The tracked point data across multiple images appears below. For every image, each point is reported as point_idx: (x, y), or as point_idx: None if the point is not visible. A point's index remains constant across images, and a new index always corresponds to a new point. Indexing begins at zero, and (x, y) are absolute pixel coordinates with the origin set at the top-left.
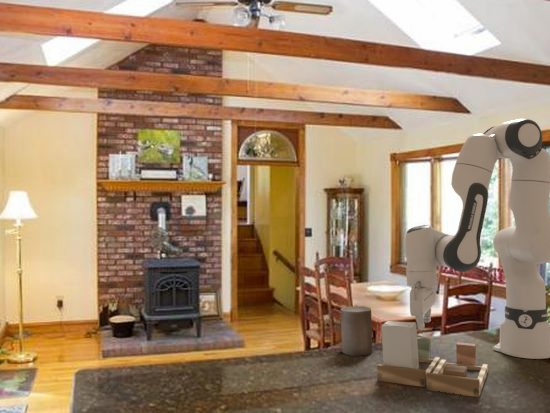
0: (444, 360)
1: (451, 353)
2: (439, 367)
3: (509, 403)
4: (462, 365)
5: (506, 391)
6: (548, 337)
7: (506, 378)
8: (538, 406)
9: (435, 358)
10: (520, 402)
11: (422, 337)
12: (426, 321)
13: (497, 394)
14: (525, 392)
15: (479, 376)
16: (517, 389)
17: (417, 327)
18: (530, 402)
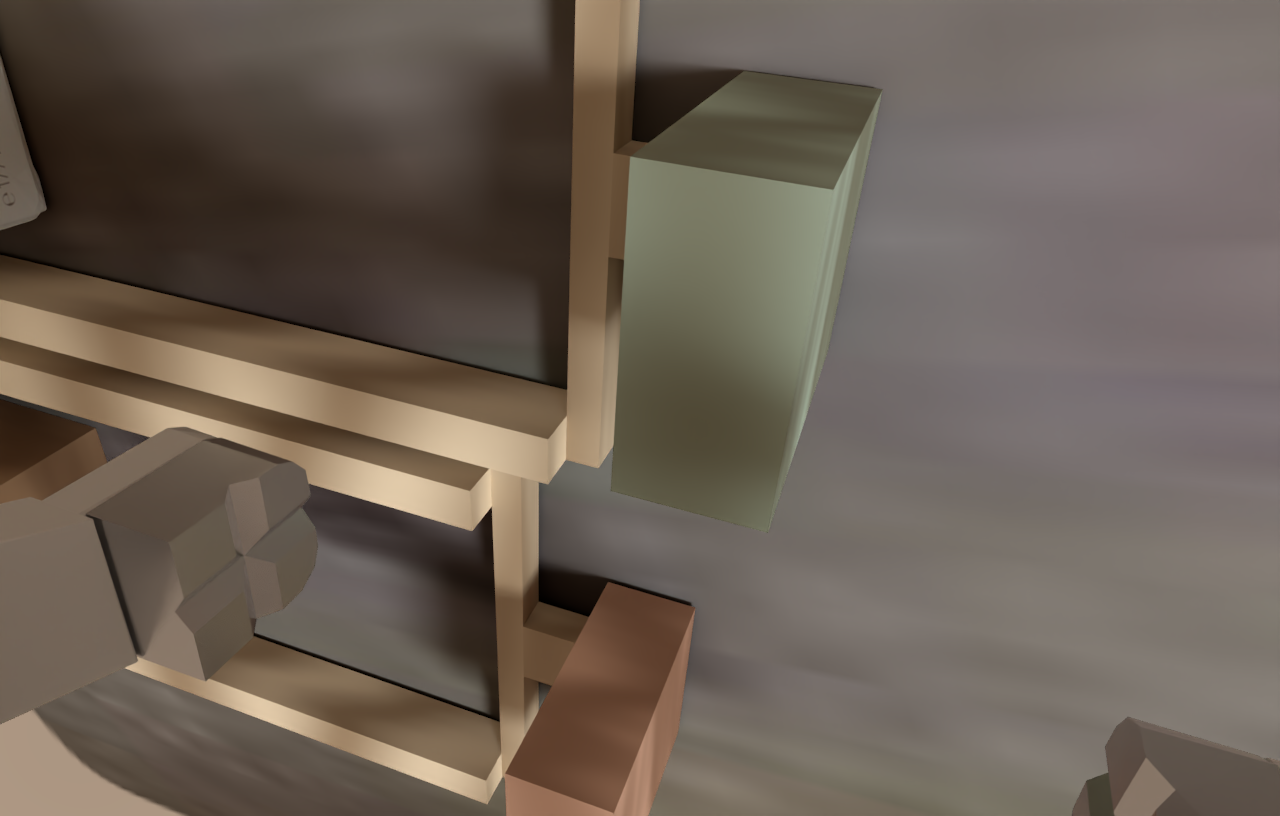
0: (432, 510)
1: (1192, 629)
2: None
3: None
4: (497, 627)
5: (192, 716)
6: None
7: (427, 797)
8: (91, 762)
9: (464, 427)
10: (86, 718)
11: (778, 389)
12: (1118, 786)
13: None
14: (235, 788)
15: (160, 666)
16: (258, 773)
17: (150, 438)
18: (115, 754)
